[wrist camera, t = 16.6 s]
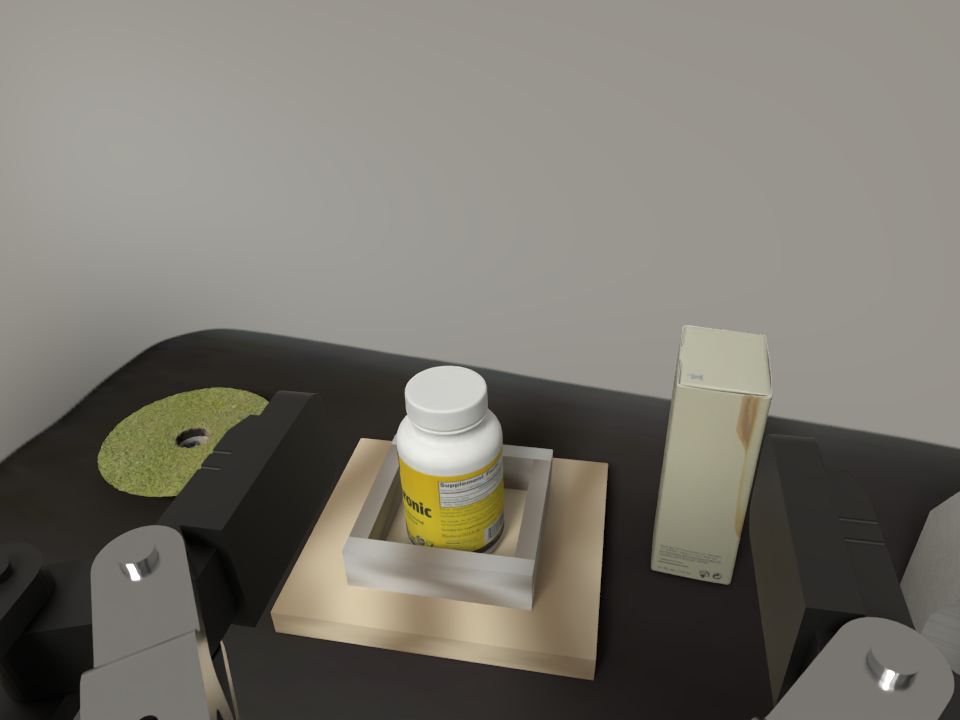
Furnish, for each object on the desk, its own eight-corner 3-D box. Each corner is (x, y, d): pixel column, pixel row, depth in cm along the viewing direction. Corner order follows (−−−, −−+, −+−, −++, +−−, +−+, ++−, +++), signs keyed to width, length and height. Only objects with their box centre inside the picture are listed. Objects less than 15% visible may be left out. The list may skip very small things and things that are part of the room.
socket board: (606, 481, 46) (610, 431, 44) (593, 680, 34) (599, 625, 32) (363, 455, 49) (356, 407, 46) (275, 631, 37) (261, 577, 35)
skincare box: (731, 589, 39) (776, 401, 32) (647, 573, 40) (674, 387, 33) (731, 506, 44) (769, 330, 37) (657, 494, 45) (682, 320, 38)
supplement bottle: (398, 510, 42) (381, 367, 37) (487, 490, 43) (484, 349, 38) (418, 581, 38) (403, 429, 32) (517, 556, 39) (518, 406, 34)
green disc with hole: (257, 518, 44) (251, 494, 43) (73, 519, 44) (63, 495, 43) (299, 407, 53) (295, 385, 52) (148, 409, 54) (140, 387, 53)
